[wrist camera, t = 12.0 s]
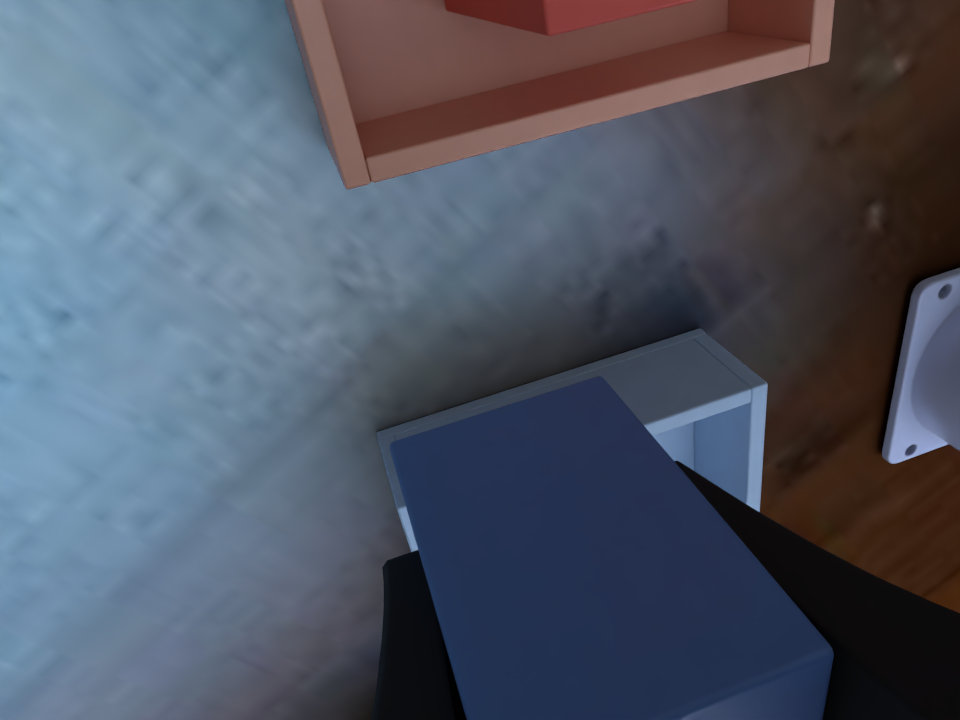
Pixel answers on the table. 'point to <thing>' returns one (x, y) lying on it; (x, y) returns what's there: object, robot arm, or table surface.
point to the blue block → (596, 574)
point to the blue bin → (652, 411)
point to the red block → (556, 12)
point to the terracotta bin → (524, 72)
